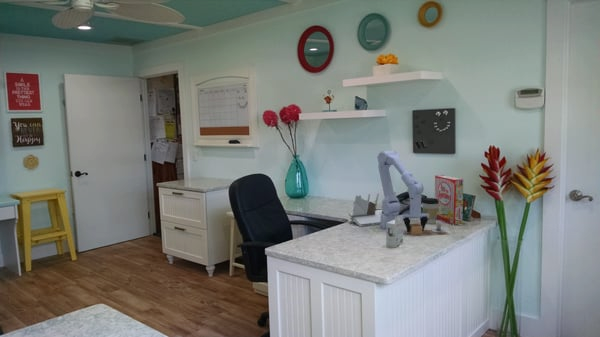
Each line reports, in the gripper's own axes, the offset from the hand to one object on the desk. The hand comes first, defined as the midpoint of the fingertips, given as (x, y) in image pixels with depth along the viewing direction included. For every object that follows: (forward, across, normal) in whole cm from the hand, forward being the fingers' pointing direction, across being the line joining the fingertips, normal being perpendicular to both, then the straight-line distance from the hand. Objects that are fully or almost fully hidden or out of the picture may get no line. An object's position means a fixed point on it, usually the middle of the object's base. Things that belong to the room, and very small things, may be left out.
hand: (415, 231), depth 237 cm
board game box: (+2, +32, +28) cm, 43 cm away
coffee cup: (+2, +18, +22) cm, 29 cm away
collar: (+1, 0, 0) cm, 1 cm away
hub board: (+2, +6, 0) cm, 7 cm away
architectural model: (+2, -12, +34) cm, 36 cm away
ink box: (+2, -17, -16) cm, 24 cm away
